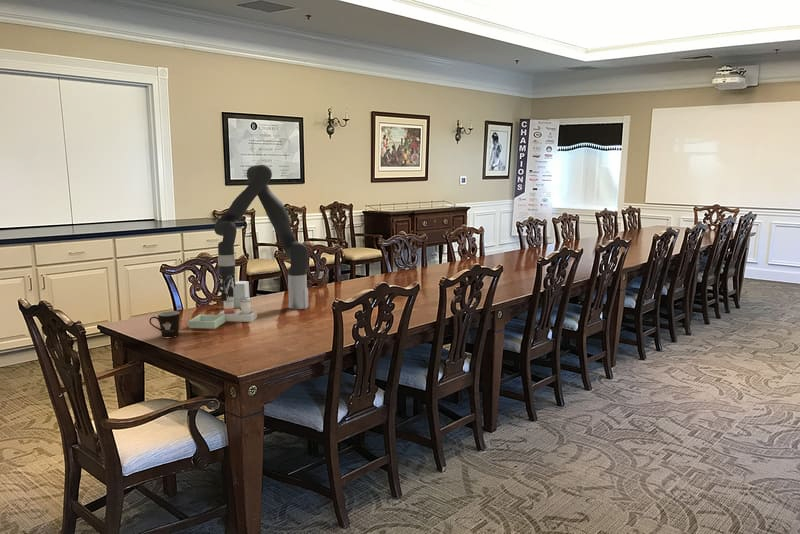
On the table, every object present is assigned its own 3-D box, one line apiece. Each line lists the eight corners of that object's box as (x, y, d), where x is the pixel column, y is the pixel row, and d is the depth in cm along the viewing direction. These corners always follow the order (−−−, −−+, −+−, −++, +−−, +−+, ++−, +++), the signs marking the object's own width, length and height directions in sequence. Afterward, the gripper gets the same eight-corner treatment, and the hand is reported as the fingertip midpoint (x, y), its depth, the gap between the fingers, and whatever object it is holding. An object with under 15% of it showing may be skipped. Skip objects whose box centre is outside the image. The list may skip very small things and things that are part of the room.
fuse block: (257, 319, 290) (257, 311, 290) (251, 323, 283) (251, 315, 282) (224, 318, 292) (223, 310, 291) (217, 322, 284) (217, 314, 283)
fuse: (252, 318, 289) (251, 297, 287) (249, 320, 284) (248, 299, 282) (242, 317, 289) (241, 296, 288) (239, 320, 285) (238, 299, 283)
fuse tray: (225, 323, 283) (225, 315, 282) (215, 330, 271) (214, 321, 270) (200, 323, 284) (199, 314, 283) (188, 330, 272) (188, 321, 271)
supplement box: (250, 304, 320) (249, 280, 318) (245, 308, 313) (244, 283, 310) (236, 304, 321) (235, 280, 318) (231, 307, 313) (230, 283, 311)
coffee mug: (185, 334, 265) (183, 311, 263) (171, 340, 257) (170, 316, 255) (163, 332, 269) (161, 309, 267) (149, 337, 261) (147, 314, 259)
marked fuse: (236, 317, 290) (235, 296, 288) (232, 320, 285) (231, 299, 283) (226, 317, 290) (225, 296, 288) (222, 320, 285) (221, 298, 284)
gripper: (228, 266, 276) (229, 302, 279) (240, 262, 290) (241, 295, 293) (212, 266, 277) (213, 301, 279) (224, 261, 291) (225, 295, 293)
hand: (227, 298), depth 286 cm, fingers open, 8 cm apart
